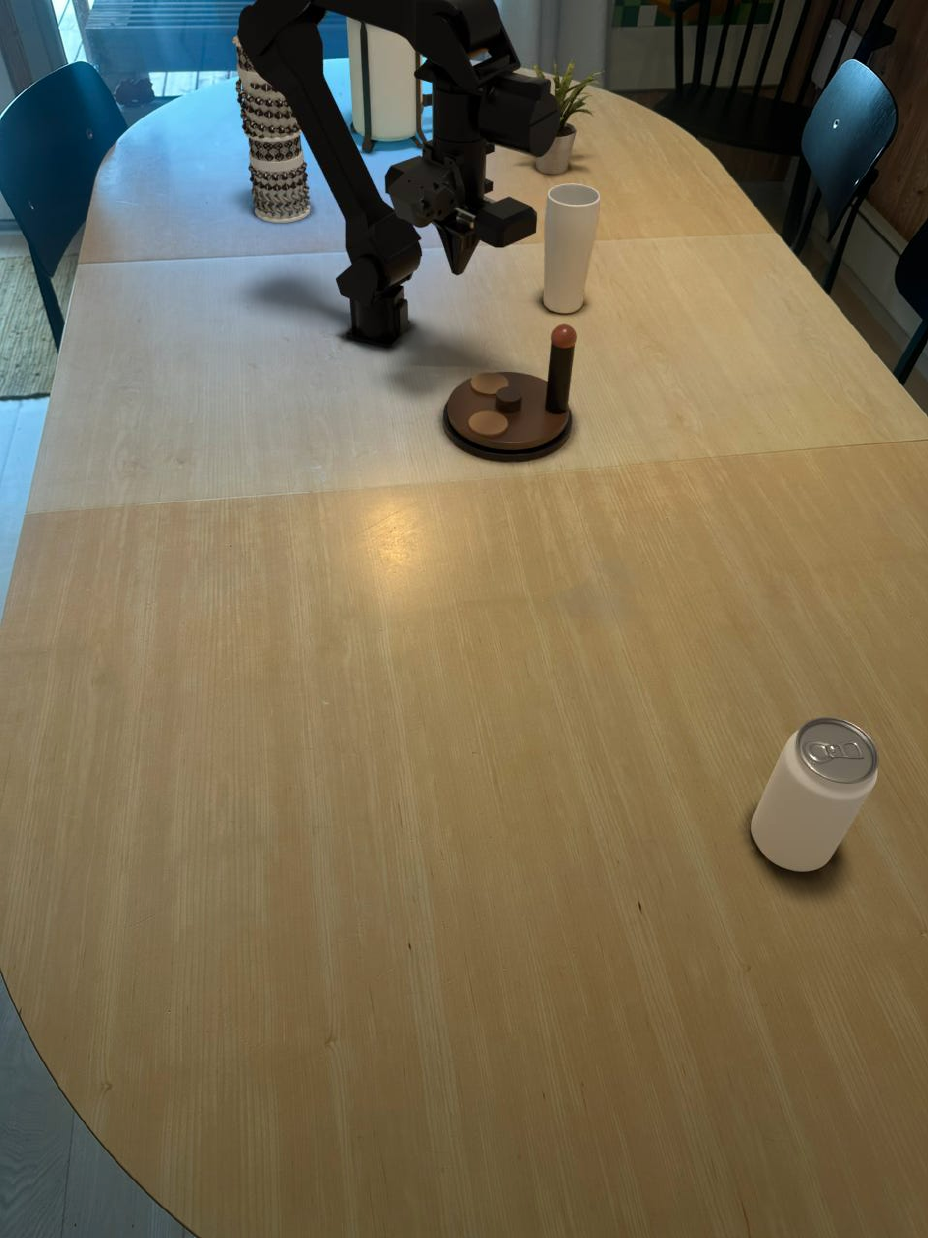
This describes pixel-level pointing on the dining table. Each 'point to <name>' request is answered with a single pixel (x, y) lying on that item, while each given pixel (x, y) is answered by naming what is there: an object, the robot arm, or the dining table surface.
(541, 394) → the turntable with crank handle
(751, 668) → the dining table surface
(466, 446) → the base
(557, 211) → the drinking glass
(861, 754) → the can
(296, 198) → the decorative candle
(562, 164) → the house plant
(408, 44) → the coffee press
